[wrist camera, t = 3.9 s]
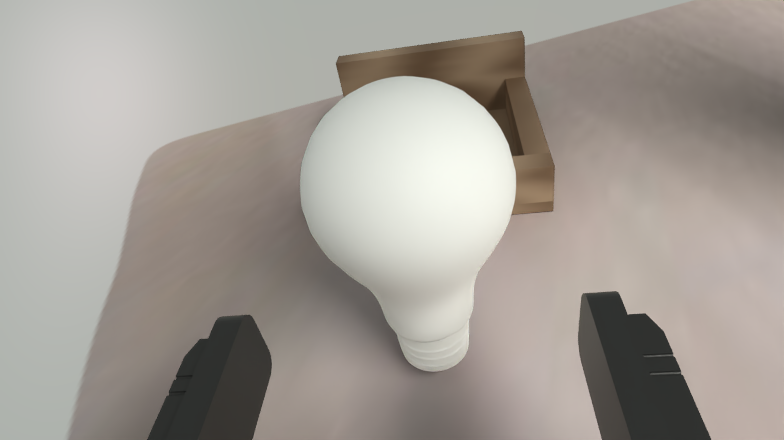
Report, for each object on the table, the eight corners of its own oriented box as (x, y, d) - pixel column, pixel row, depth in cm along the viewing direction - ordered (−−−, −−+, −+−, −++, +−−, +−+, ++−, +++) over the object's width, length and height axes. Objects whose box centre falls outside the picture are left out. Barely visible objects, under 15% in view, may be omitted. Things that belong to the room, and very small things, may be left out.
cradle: (522, 106, 34) (521, 30, 31) (553, 210, 25) (556, 119, 22) (354, 126, 36) (338, 56, 33) (328, 230, 27) (302, 147, 24)
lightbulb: (359, 308, 22) (286, 63, 16) (500, 287, 22) (486, 27, 15) (358, 442, 18) (251, 170, 11) (539, 418, 17) (544, 121, 10)
